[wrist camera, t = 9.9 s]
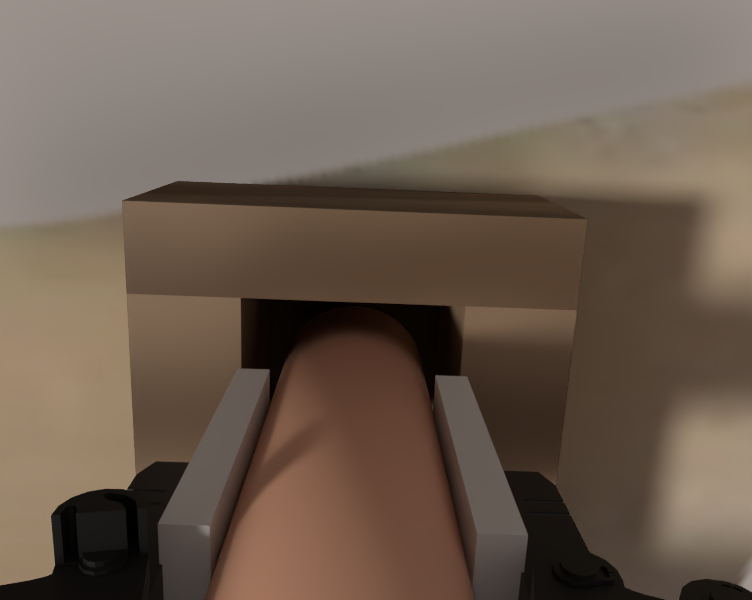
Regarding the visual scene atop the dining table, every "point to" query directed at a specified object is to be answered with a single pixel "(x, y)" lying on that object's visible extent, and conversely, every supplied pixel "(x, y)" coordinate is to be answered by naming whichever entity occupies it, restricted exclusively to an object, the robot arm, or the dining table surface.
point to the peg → (346, 477)
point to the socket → (350, 296)
